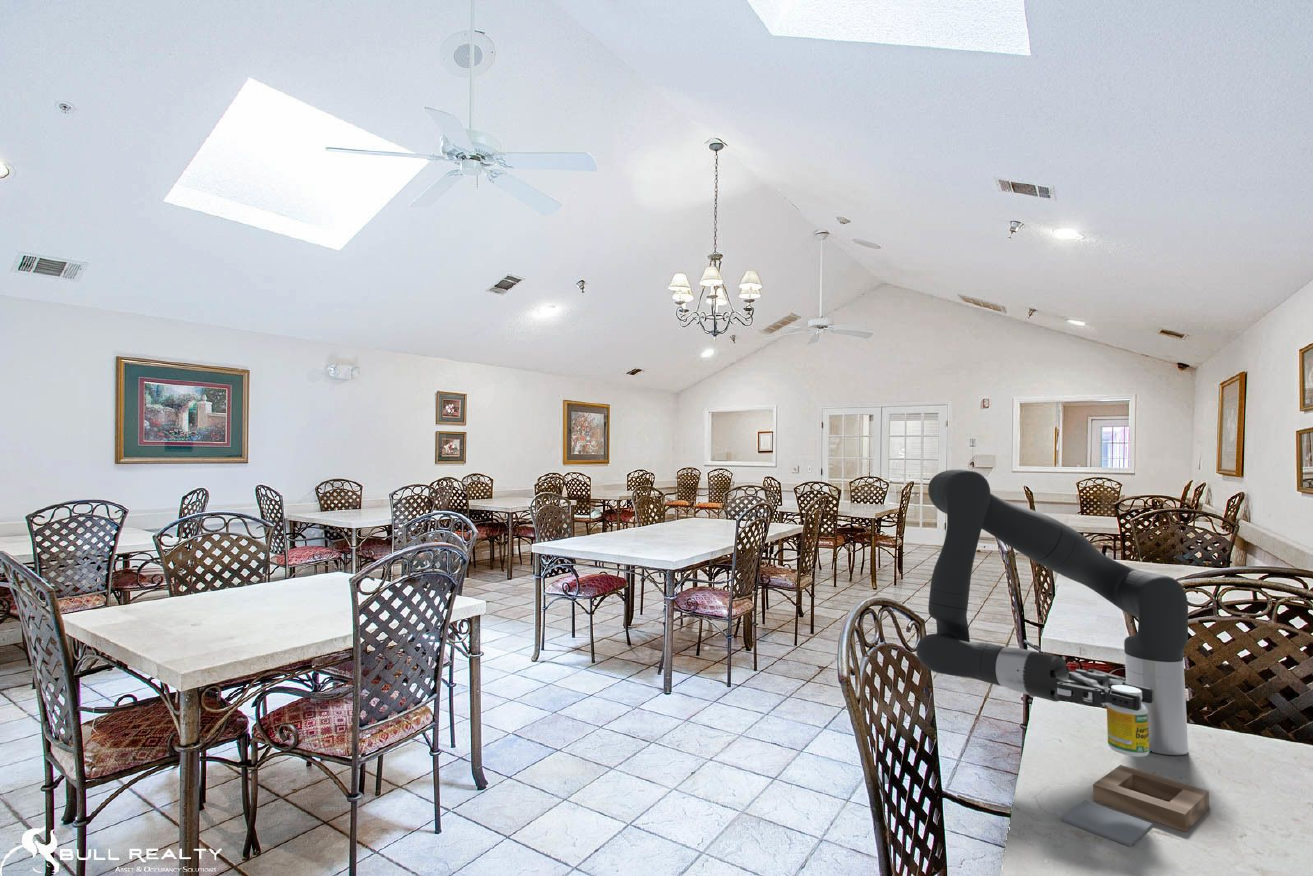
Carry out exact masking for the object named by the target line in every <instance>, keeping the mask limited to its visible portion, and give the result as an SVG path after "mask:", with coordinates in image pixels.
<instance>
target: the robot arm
mask: <svg viewBox="0 0 1313 876" xmlns="http://www.w3.org/2000/svg"><path fill="white" fill-rule="evenodd" d="M927 492H928V497H929V499H930V502H931V503H932V504H933V506H934V507H935V508H936V509H938V511H940V512H942V513H943V514H946V519H947V520H946V531H945V533H946V534H945V538H944V541H943V544H942V548H941V551H940V553H939V556H938V558H937V560H936V562H935V565H934V569H933V570H932V571H933V572H932V575H931V581H930V588H929V590H930V591H929V600H928V608H927V609H928V610H927V611H928V615H929V617H931V618H932V619H934V620H935V621H936V622H935V623H936V633H929V634H927V635H923V637H921V638H920V639H919V640H918V641H917V645H916V648H915V649H916V650H915V651H916V656H917V658H918V660H919V662H920V663H921V664H922V665H923V667H925V668H926V669H927V670H930V671H932V672H935V673H938V674H943V675H947V676H948V675H949V676H954V677H961V678H970V679H974V680H979V681H981V682H984V683H987V684H991V685H995V686H999V687H1003V688H1007V689H1009V690H1011V691H1014V692H1016V693H1020V694H1023V695H1028V696H1031V697H1036V698H1039V699H1043V700H1047V701H1051V702H1056V703H1057V702H1060V701H1068V702H1073V703H1076V704H1077V703H1078V704H1083V705H1087V706H1093V707H1097V708H1100V707H1102V705H1103V706H1106V707H1107V706H1108V705H1111V703H1112V705H1115V706H1119V707H1123V708H1127V709H1132V710H1136V711H1138V710H1140V709H1141V703H1143V704H1144V705H1145V706H1146V707H1147V709H1148V727H1149V752H1151V751H1152V752H1151V753H1155V754H1159V755H1169V756H1184V755H1186V754H1188V753H1189V741H1188V739H1189V738H1188V724H1187V722H1188V721H1187V720H1188V718H1187V701H1186V699H1187V698H1186V684H1185V683H1186V682H1185V681H1186V679H1185V664H1184V663H1185V662H1184V651H1185V649H1186V646H1187V645H1188V642H1189V640H1188V639H1189V602H1188V596H1187V593H1186V591H1185V588H1184V587H1183V585H1182V584H1181V583H1180V582H1179V581H1178V580H1177V579H1175V578H1174V577H1170V576H1168V575H1164V574H1160V573H1159V574H1158V573H1153V572H1149V571H1143V570H1139V569H1135V568H1133V567H1130V566H1129V565H1128V566H1127V565H1125V564H1123V563H1121V562H1119V561H1116V560H1114V559H1112V558H1110V557H1108V556H1106V555H1104V554H1103V553H1102V552H1100V551H1099V550H1098V549H1097V548H1096V546H1095V545H1093V544H1092V542H1091V541H1090V540H1089V539H1087V538H1086V537H1085V535H1083V534H1081V533H1080V532H1078V531H1077V530H1075V529H1074V528H1072V527H1070V526H1069V525H1067V524H1064V523H1063V522H1061V521H1060V520H1058V519H1055V518H1053V517H1051V516H1049V515H1047V514H1044V513H1041V512H1038V511H1036V510H1034V509H1031V508H1027V507H1025V506H1021V505H1018V504H1015V503H1012V502H1010V501H1006V500H1004V499H1003V498H1000V497H998V496H996V495H994V494H993V493H991V487H990V484H989V481H988V480H987V478H986V477H985V476H984V475H983V474H982V473H980V472H978V471H976V470H973V469H962V468H961V469H949V470H944V471H941V472H939V473H937V474H935V476H933V477H932V478H931V479H930V481H929V483H928V488H927ZM982 530H983V531H985V532H987V533H989V534H990V535H991V536H993V537H994V538H996V539H997V540H999V541H1001V542H1002V543H1004V544H1006V546H1008V547H1010V548H1011V549H1013V550H1015V551H1016V552H1018V553H1020V554H1022V555H1023V556H1026V557H1027V558H1028V559H1030V560H1032V561H1034V562H1035V563H1038V564H1039V565H1041V566H1043V567H1044V568H1047V569H1049V570H1051V571H1053V572H1054V573H1056V574H1059V575H1061V576H1063V577H1065V578H1067V579H1069V580H1072V581H1074V582H1076V583H1079V584H1081V585H1083V586H1086V587H1087V588H1089V589H1090V590H1091V591H1093V592H1095V593H1097V594H1098V595H1100V596H1101V597H1103V598H1104V599H1106V600H1107V601H1108V602H1110V603H1111V604H1113V605H1114V606H1116V608H1118V609H1120V610H1121V611H1122V612H1125V613H1126V614H1128V615H1131V616H1133V617H1136V618H1138V620H1137V621H1138V623H1137V624H1138V625H1137V632H1136V634H1135V635H1129V636H1127V637H1125V639H1124V641H1123V648H1124V664H1125V665H1124V669H1125V677H1123V676H1119V675H1115V674H1112V673H1109V672H1105V671H1101V670H1098V669H1094V668H1089V669H1088V670H1086V669H1079V668H1076V669H1075V670H1070V669H1069V668H1068V665H1067V663H1066V660H1065V659H1064V658H1063V657H1061V656H1059V655H1053V654H1049V653H1044V652H1040V651H1033V650H1029V649H1025V648H1019V647H1011V646H1010V647H1009V646H1003V645H998V644H995V643H994V644H993V643H989V642H981V641H980V642H971V640H970V632H969V631H970V629H969V623H968V622H969V621H968V618H967V614H968V608H969V600H970V598H969V597H970V590H971V589H970V588H971V580H972V573H973V566H974V561H975V557H976V552H977V548H978V544H979V540H980V536H981V531H982ZM1112 685H1126V686H1131V687H1135V688H1138V689H1140V690H1141V691H1142V700H1141V698H1140V696H1138V695H1135V694H1130V693H1126V692H1122V691H1118V690H1111V686H1112ZM1187 752H1188V753H1187Z"/></svg>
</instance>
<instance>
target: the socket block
mask: <svg viewBox="0 0 1313 876" xmlns="http://www.w3.org/2000/svg"><path fill="white" fill-rule="evenodd" d="M1092 793H1093V794H1092V797H1093V799H1092V800H1093V801H1095V802H1097V803H1101V804H1104V805H1106V806H1110V807H1112V808H1115V809H1117V810H1121V811H1124V812H1127V813H1130V814H1133V815H1134V816H1135V815H1136V816H1138V817H1141V818H1145V819H1147V820H1150V821H1153V822H1156V823H1159V824H1162V825H1165V826H1167V827H1171V828H1174V829H1176V830H1180V831H1182V832H1185V833H1186V832H1187V831H1188V830H1190V828H1191V827H1192V826H1193V825H1195V824H1196V822H1197V821H1198V820H1200V818H1202V816H1203V815H1204V814H1205V813H1206V812H1207V810H1208V809H1209V808H1211V807H1210V806H1211V803H1210V791H1209V790H1207V789H1204V788H1200V787H1197V786H1194V785H1190V784H1187V783H1184V782H1180V781H1178V780H1174V779H1170V778H1166V777H1164V776H1160V775H1157V774H1152V773H1150V772H1146V771H1143V770H1139V769H1136V768H1133V767H1130V766H1126V765H1123V764H1120V765H1118V766H1117V767H1115V768H1114V769H1112V770H1111V771H1109V772H1108V773H1106V774H1105V775H1104V776H1102V777H1101V778H1100V779H1098V780H1097V781H1095V782H1094V783H1092ZM1192 824H1193V825H1192Z"/></svg>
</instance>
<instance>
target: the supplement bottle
mask: <svg viewBox="0 0 1313 876" xmlns="http://www.w3.org/2000/svg"><path fill="white" fill-rule="evenodd" d="M1111 690H1118V691H1122V692H1126V693H1130V694H1135V695H1138V696H1140V698H1141V700H1142V691H1141V690H1140V689H1138V688H1135V687H1131V686H1126V685H1117V684H1112V686H1111ZM1106 722H1107V726H1106V727H1107V744H1108V747H1109V748H1110V749H1111V750H1113V751H1114V752H1116V753H1118V754H1121V755H1124V756H1125V755H1126V756H1129V757H1137V758H1138V757H1139V758H1141V757H1146V756H1148V755H1149V754H1150V751H1149V727H1148V709H1147V707H1146V706H1145V705H1144V704H1143V703H1141V709H1140V710H1138V711H1136V710H1132V709H1127V708H1123V707H1119V706H1115V705H1112V703H1111V705H1108V706H1106Z"/></svg>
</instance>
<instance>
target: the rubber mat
mask: <svg viewBox="0 0 1313 876" xmlns="http://www.w3.org/2000/svg"><path fill="white" fill-rule="evenodd" d="M1060 822H1065V823H1067V824H1070V825H1072V826H1075V827H1078V828H1081V829H1083V830H1086V831H1088V832H1091V833H1093V834H1096V835H1099V836H1101V837H1104V838H1107V839H1109V840H1112V841H1115V842H1117V843H1119V842H1120V844H1122V843H1123V845H1125V846H1127V847H1129V848H1130V847H1132V846H1134V844H1135V843H1136V842H1137V841H1138V840H1139V839H1140V838H1142V836H1144V835H1145V834H1146V833H1147V832H1148V831H1149V830H1151V828H1153V823H1152V822H1149V821H1147V820H1144V819H1141V818H1138V817H1135V816H1132V815H1129V814H1126V813H1123V812H1120V811H1117V810H1115V809H1111V808H1109V807H1107V806H1103V805H1100V804H1098V803H1095V802H1092V801H1088V800H1087V799H1085V800H1083V801H1082V802H1080V803H1079V804H1077V805H1076V806H1075V807H1074V808H1072V809H1070V810H1069V811H1068V812H1067V813H1065V814H1064V815H1062V816H1061V817H1060Z"/></svg>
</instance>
